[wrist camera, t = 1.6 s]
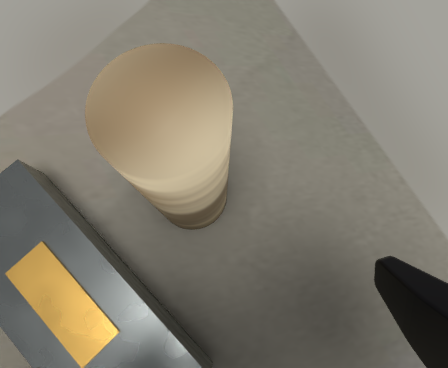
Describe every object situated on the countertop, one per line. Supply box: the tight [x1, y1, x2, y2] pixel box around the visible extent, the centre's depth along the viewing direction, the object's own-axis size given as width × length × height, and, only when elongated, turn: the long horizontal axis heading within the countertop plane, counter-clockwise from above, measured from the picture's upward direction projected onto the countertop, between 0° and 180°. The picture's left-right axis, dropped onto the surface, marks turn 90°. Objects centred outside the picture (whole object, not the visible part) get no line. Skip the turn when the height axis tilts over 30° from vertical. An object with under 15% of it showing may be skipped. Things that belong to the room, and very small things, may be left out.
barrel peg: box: [85, 43, 233, 229], centre depth 16 cm, size 4×4×12 cm
